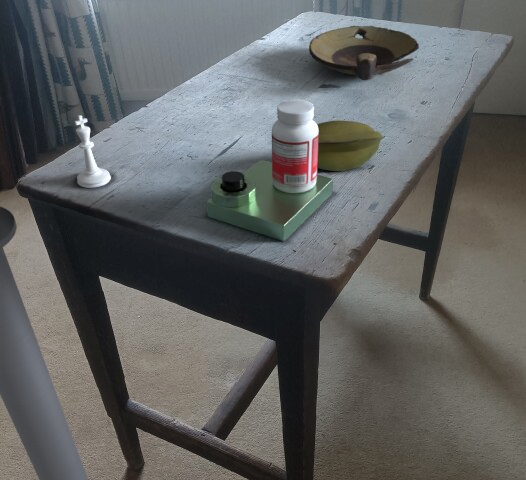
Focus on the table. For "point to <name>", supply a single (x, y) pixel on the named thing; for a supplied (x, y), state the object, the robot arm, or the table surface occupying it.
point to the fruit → (345, 145)
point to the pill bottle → (294, 147)
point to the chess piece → (89, 160)
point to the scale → (266, 203)
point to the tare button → (233, 181)
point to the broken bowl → (362, 50)
